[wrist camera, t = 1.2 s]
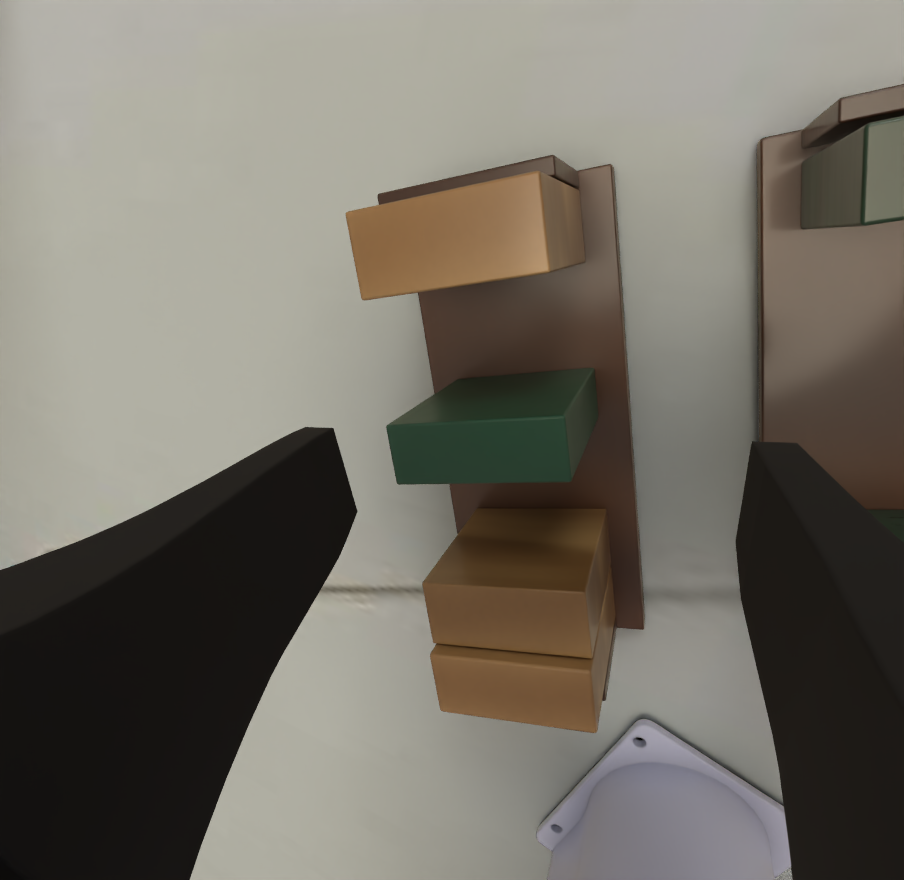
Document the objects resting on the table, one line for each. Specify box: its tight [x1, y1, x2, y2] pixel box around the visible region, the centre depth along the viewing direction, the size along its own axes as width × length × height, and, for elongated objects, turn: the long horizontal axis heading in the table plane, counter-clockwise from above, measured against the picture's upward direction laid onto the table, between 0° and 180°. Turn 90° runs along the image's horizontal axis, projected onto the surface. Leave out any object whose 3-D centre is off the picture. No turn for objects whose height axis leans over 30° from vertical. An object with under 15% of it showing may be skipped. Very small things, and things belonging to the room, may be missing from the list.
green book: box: [386, 368, 599, 485], centre depth 18 cm, size 2×5×6 cm, turn 98°
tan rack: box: [346, 155, 645, 733], centre depth 19 cm, size 16×7×7 cm, turn 9°
